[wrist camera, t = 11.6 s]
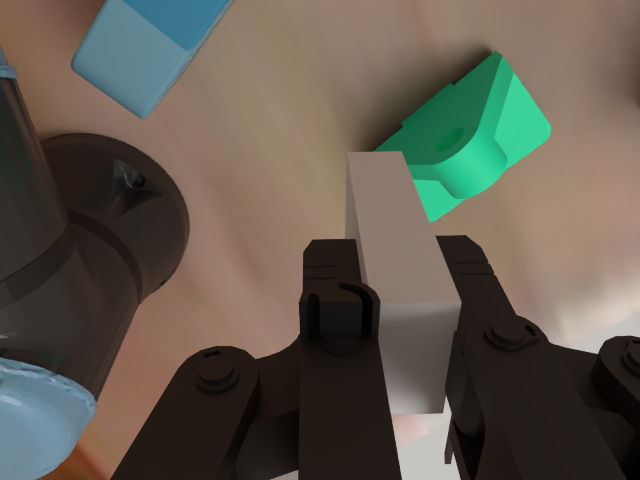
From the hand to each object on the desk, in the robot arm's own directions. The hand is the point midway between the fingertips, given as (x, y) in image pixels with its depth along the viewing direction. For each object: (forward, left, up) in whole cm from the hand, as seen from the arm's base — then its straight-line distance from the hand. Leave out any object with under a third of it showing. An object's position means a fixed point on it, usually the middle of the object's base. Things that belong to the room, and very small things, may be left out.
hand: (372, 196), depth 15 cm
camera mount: (+10, -8, -27) cm, 30 cm away
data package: (-9, +3, -27) cm, 28 cm away
